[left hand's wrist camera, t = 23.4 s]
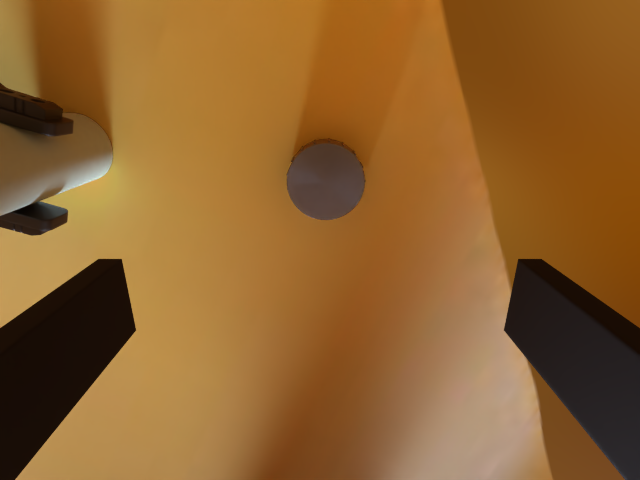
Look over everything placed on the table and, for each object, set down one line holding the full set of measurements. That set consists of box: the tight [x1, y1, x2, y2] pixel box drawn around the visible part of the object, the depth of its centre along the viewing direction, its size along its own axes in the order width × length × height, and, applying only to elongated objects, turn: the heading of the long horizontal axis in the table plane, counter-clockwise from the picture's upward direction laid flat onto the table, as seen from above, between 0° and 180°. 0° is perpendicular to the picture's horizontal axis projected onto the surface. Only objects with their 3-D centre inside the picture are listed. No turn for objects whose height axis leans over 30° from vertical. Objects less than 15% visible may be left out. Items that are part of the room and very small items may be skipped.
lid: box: [287, 138, 365, 220], centre depth 26 cm, size 5×5×2 cm
